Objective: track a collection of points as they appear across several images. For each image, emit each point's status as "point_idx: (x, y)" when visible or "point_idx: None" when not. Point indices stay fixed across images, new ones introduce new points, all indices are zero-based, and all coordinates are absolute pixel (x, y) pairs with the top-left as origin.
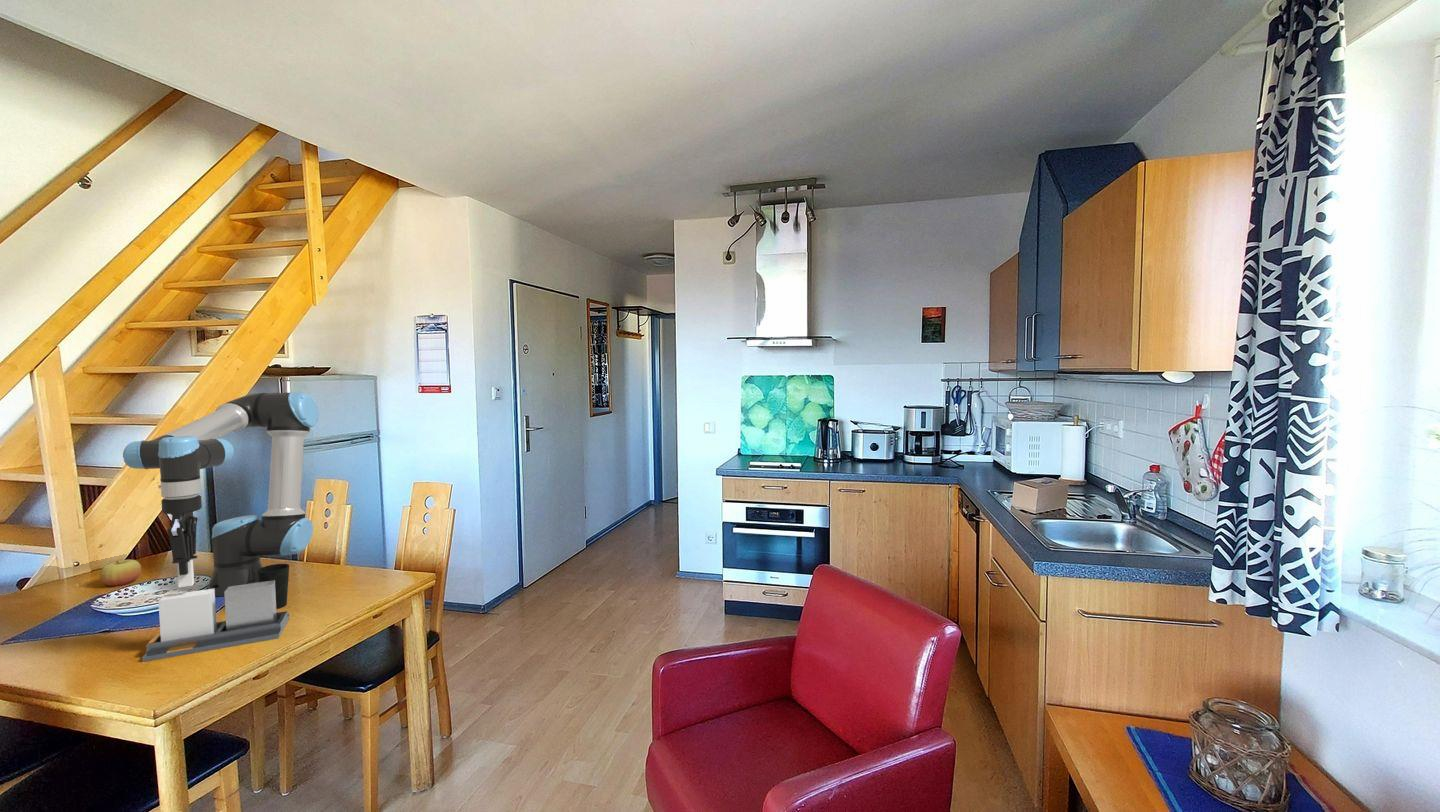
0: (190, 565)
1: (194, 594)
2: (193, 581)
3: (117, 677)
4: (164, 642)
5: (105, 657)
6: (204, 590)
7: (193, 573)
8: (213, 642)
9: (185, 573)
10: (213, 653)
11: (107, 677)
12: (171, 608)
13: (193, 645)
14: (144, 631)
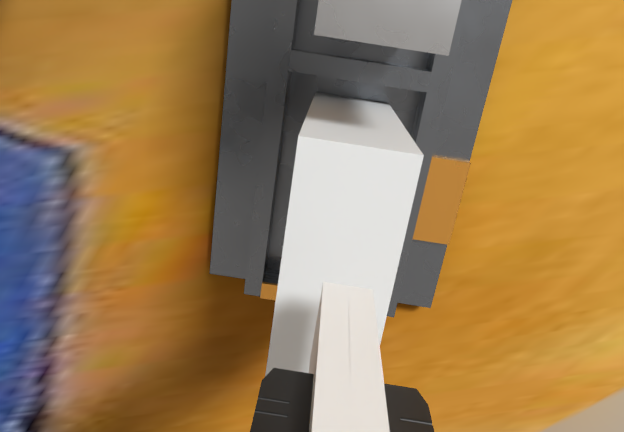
0: (386, 429)
1: (369, 245)
2: (334, 296)
3: (520, 341)
4: (403, 265)
5: None
6: (307, 195)
7: (323, 336)
8: (454, 91)
9: (420, 407)
10: (530, 82)
11: (496, 364)
12: None
13: (449, 163)
14: (94, 331)
